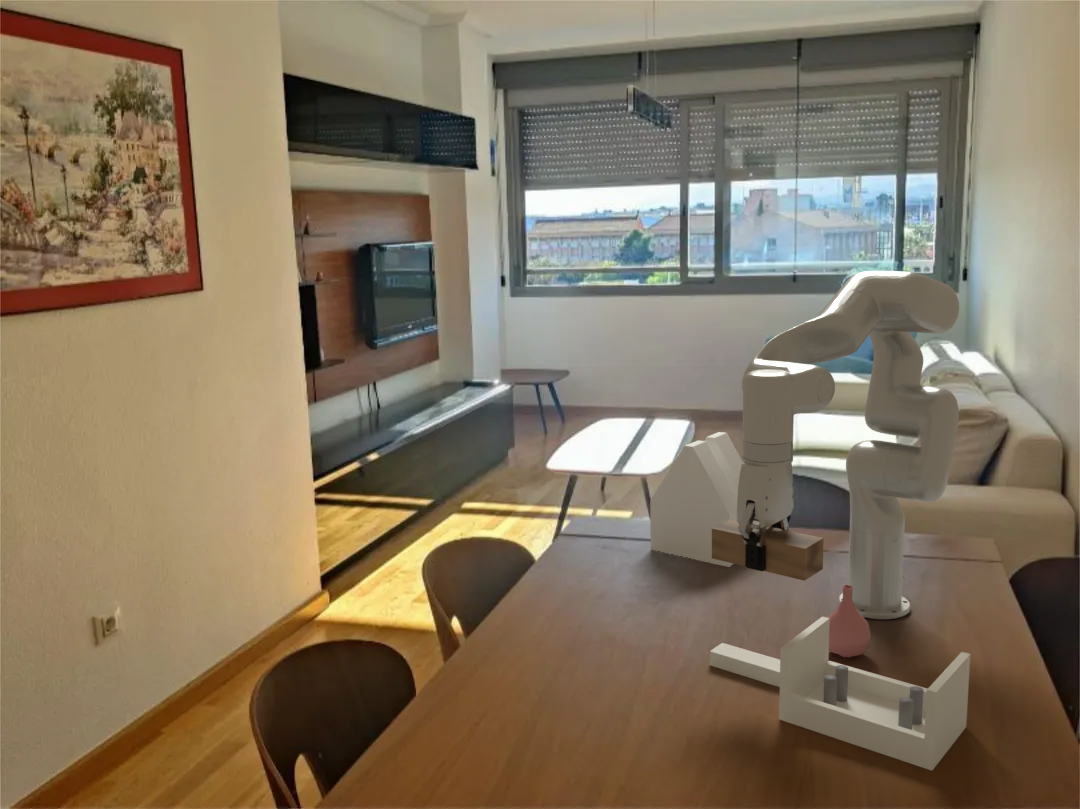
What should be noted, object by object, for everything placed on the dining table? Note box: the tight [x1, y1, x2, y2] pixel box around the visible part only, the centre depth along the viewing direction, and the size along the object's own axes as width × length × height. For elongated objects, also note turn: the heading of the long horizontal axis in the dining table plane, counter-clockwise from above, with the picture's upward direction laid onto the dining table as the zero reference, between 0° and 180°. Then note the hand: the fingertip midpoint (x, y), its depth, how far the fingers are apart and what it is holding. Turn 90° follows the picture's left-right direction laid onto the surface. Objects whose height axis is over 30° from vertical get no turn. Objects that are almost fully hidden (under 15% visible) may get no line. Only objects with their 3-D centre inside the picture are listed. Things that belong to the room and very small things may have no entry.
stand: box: [778, 616, 971, 771], centre depth 139 cm, size 14×22×11 cm, turn 50°
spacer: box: [709, 642, 780, 688], centre depth 157 cm, size 4×14×2 cm, turn 50°
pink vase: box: [826, 584, 872, 658], centre depth 161 cm, size 8×8×12 cm
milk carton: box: [649, 431, 759, 568], centre depth 213 cm, size 19×15×25 cm
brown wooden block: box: [712, 519, 824, 581], centre depth 151 cm, size 6×16×5 cm, turn 48°
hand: (766, 561), depth 152 cm, fingers closed on brown wooden block, 6 cm apart
